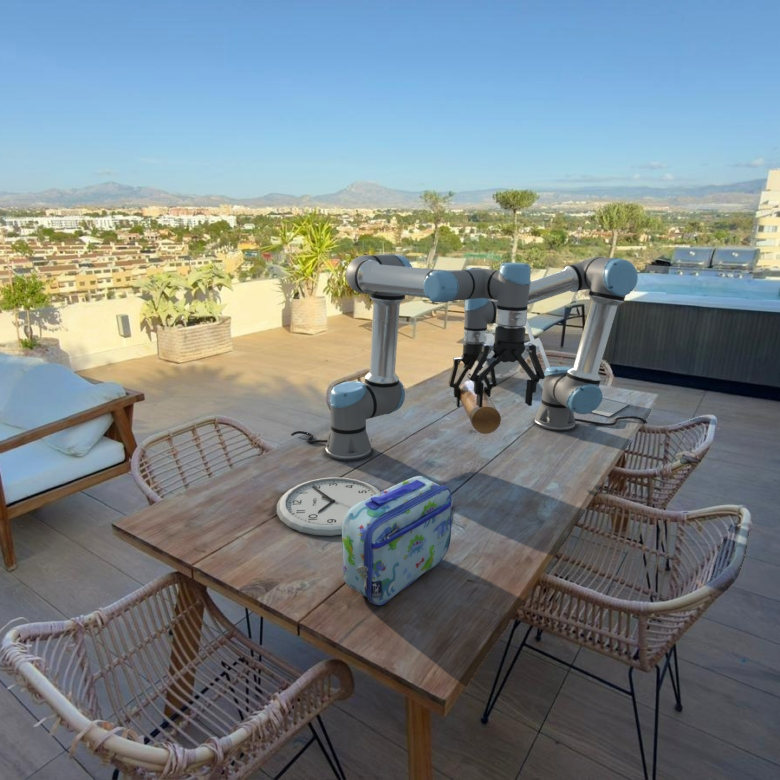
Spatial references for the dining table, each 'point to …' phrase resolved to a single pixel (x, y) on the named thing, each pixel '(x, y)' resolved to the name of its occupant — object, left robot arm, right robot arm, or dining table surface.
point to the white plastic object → (506, 366)
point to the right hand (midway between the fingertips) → (471, 405)
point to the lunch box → (395, 537)
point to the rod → (479, 409)
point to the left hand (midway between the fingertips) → (503, 405)
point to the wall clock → (322, 504)
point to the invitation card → (608, 407)
